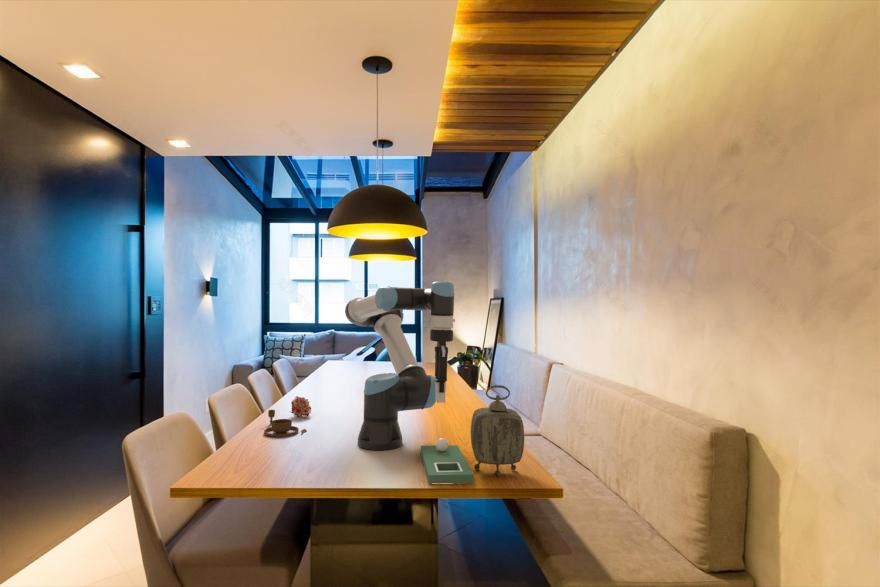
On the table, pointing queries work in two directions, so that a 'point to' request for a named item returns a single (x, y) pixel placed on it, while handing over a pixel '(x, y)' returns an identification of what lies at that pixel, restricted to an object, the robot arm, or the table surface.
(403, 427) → the table surface
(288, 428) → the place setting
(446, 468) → the green slotted plate
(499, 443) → the tabletop clock
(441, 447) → the ball
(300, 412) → the flower
